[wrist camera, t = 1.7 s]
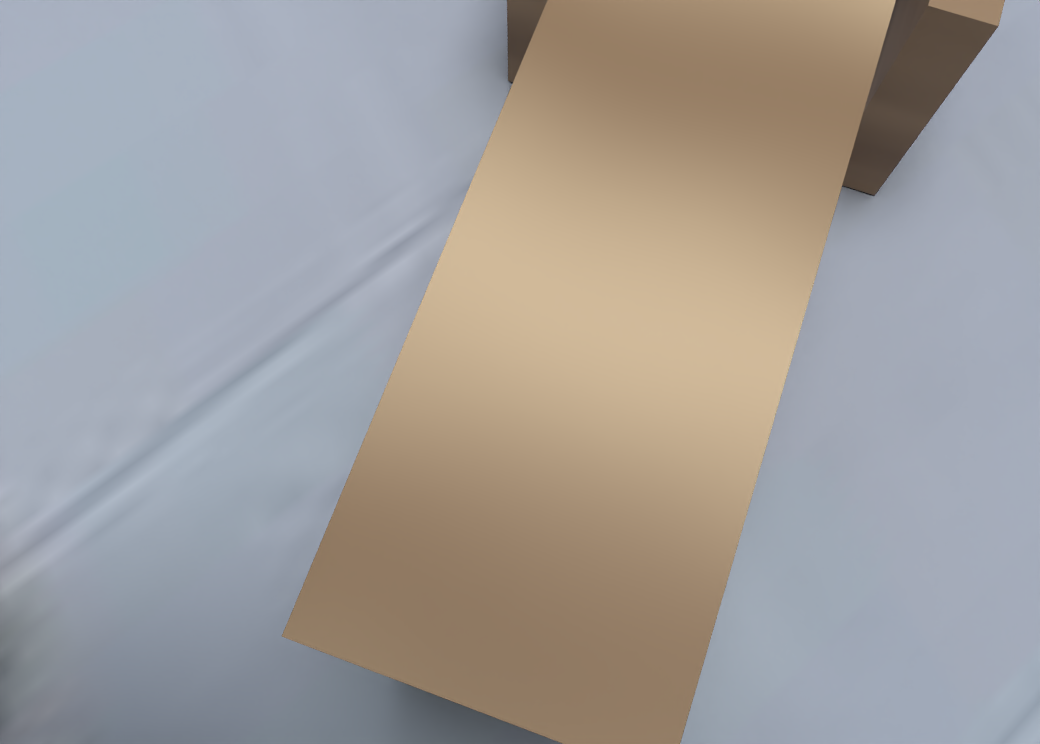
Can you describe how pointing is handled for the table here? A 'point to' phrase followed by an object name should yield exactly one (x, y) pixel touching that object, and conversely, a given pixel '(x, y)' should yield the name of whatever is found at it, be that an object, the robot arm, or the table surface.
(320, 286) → the table surface
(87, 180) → the table surface
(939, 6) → the end cap
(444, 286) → the tan wooden block
